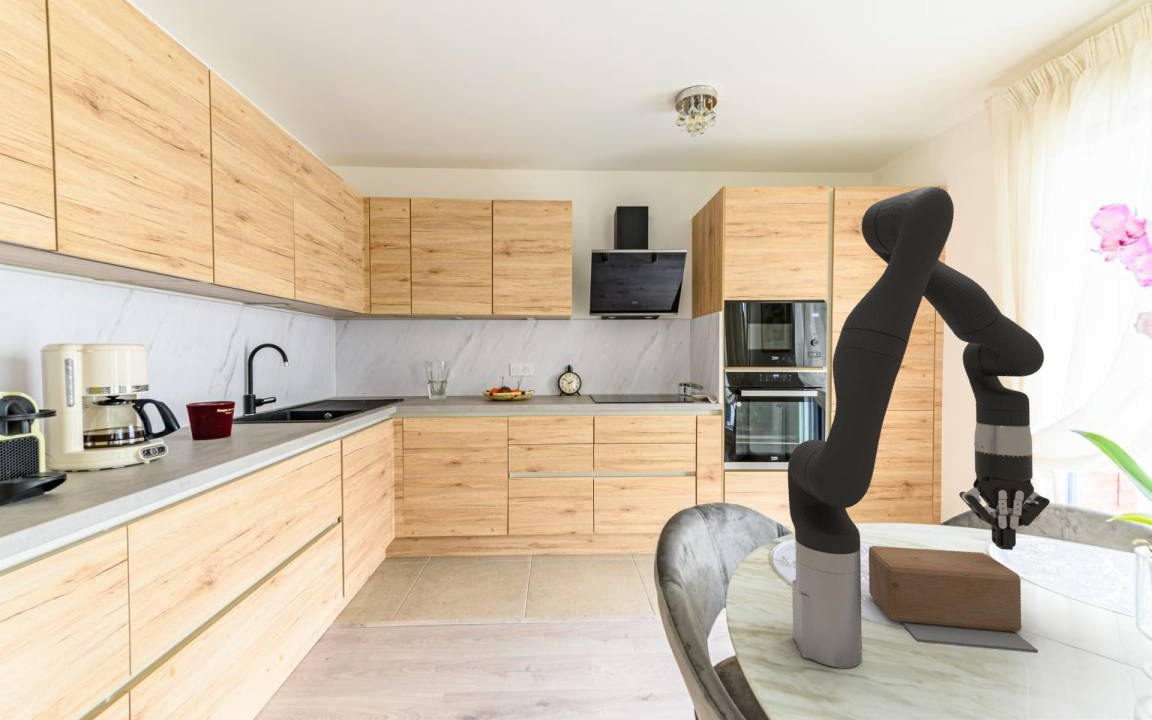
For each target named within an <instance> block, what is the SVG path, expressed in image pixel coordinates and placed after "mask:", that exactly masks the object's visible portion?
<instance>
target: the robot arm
mask: <svg viewBox="0 0 1152 720" xmlns="http://www.w3.org/2000/svg"><path fill="white" fill-rule="evenodd" d="M954 209H955V207H954V201H953V200H952V197H951V195H950V194H949V192H947V191H946V189H944V188H941V187H939V186H926V187H925V186H924V187H921V188H916V189H912V190H910V191H907V192H902V193H900V194H898V195H893V196H891V197H888V198H885V199H882V200H879V201H876V202H875V203H873V204H871V205H870V206H869V207H868V208H867V210H865V212H864V214H863V217H862V220H861V233H862V237H863V239H864V241H865V243H866V245H868V247H869V248H870V249H871V250H872V251H873V252H874V253H875V254H876V256H878V257H879V258H881V259H882V260H883V261H884V262H885V264H887V266H886V268H885V270H884V272H883V273H882V275H881V276H880V278H879V279H877V281H876V282H875V283H874V285H872V286H871V288H870V289H869V290H868V292H867V293H866V294H865V295H864V296H863V297H862V298H861V299H860V300H859V302H858V303H856V305H855V306H854V308H852V310H851V311H850V313H849V314H848V316H847V317H846V318H845V321H844V323H843V325H842V327H841V331H840V333H839V337H838V340H837V342H836V346H835V348H834V353H833V358H832V377H833V378H832V379H833V386H834V393H835V410H834V416H833V421H832V424H831V426H830V430H829V432H828V435H827V438H826V441H825V440H820V439H809V440H806V441H802V442H801V443H799V444H798V445H797V446H795V448H794V449H793V451H792V452H791V455H790V457H789V459H788V466H787V488H788V489H787V490H788V492H787V493H788V507H789V516H790V519H791V522H792V525H793V527H794V528H793V529H794V539H795V541H794V544H795V550H794V551H795V579H793V580H792V581H791V584H792V585H791V586H792V587H791V588H792V589H791V591H792V637H793V639H794V641H795V643H796V646H797V648H798V650H799V652H800V655H801V657H802V658H804V659H809V660H813V661H815V662H817V663H819V664H822V665H826V666H830V667H834V668H840V669H841V668H843V669H845V668H847V669H848V668H853V667H856V666H859V664H860V663H861V662H862V661H863V660H862V659H863V656H862V655H863V653H862V652H863V642H862V641H863V640H862V639H863V638H862V634H863V633H862V581H861V580H862V575H861V574H862V573H861V572H862V570H861V568H862V567H861V566H862V565H861V564H862V563H861V560H862V559H861V533H860V531H859V528H858V527H857V525H856V524H855V523H854V522H853V520H852V519H851V517H850V515H849V513H848V511H847V509H848V508H851V507H853V506H855V505H857V504H858V503H859V502H861V501H862V500H863V498H864V497H865V496H866V495H867V492H868V491H869V489H870V486H871V482H872V479H873V475H874V470H875V466H876V465H875V464H876V460H877V454H878V448H879V444H880V439H881V435H882V429H883V424H884V421H885V416H886V414H887V411H888V407H889V403H890V400H891V396H892V393H893V389H894V386H895V383H896V379H897V377H898V374H899V372H900V369H901V366H902V363H903V361H904V356H905V355H906V354H905V353H906V351H907V347H908V344H909V341H910V337H911V333H912V330H913V326H914V322H915V321H916V317H917V314H918V311H919V309H920V306H921V303H922V300H923V297H924V298H925V299H926V300H927V302H928V303H929V304H930V305H931V306H932V307H933V308H934V310H935V311H936V312H937V313H938V315H939V316H940V317H941V318H942V320H943V321H944V323H945V324H946V325H947V326H948V328H949V329H950V330H951V332H952V333H953V334H954V336H956V338H958V339H959V340H960V341H962V342H965V343H967V344H966V345H965V347H964V350H963V351H962V352H963V353H962V365H963V368H964V371H965V374H966V376H967V379H968V381H969V384H970V387H971V390H972V394H973V395H974V400H975V422H976V423H975V430H974V442H973V445H974V472H975V476H976V477H975V480H974V482H973V485H972V486H973V487H972V488H971V489H970V490H968V491H966V492H965V491H961V492H959V494H958V495H959V497H960V498H961V500H962V501H963V502H964V503H965V504H966V505H967V506H968V507H969V508H970V509H971V511H972V513H974V514H975V516H976V517H977V518H978V519H979V520H981V521H982V522H985V523H987V524H989V525H991V541H992V543H993V544H994V545H995V546H996V548H998V549H1001V550H1008V551H1012V550H1014V547H1016V545H1017V541H1016V540H1017V536H1016V535H1017V534H1016V533H1017V531H1016V530H1017V529H1018V528H1019V527H1023V526H1024V527H1028V526H1030V525H1031V524H1032V523H1033V522H1034V521H1035V520H1036V518H1038V516H1040V514H1041V513H1042V512H1043V511H1044V510H1045V509H1046V508H1047V506H1049V505H1050V502H1051V501H1050V499H1049V498H1046V497H1044V496H1042V495H1040V494H1038V492H1036V491H1035V487H1034V485H1033V484H1032V479H1033V478H1034V475H1033V474H1034V473H1033V471H1034V469H1033V437H1032V432H1031V423H1030V419H1031V418H1030V417H1031V415H1030V414H1031V413H1030V409H1031V408H1030V398H1029V396H1028V394H1026V393H1024V392H1023V391H1020V390H1015V389H1012V388H1011V389H1010V388H1007V387H1005V386H1004V385H1003V383H1002V382H1001V380H1000V378H999V377H1011V378H1012V377H1014V378H1015V377H1016V378H1017V377H1018V378H1019V377H1029V376H1031V375H1034V374H1036V373H1037V372H1038V371H1039V370H1040V369H1041V368H1042V367H1043V365H1044V362H1045V353H1044V350H1043V347H1042V345H1041V343H1040V342H1039V341H1038V340H1037V338H1036V337H1035V336H1033V335H1032V333H1030V332H1029V331H1027V330H1026V329H1025V328H1023V327H1022V326H1021V325H1019V324H1018V323H1016V322H1015V321H1013V320H1012V319H1010V318H1009V317H1007V316H1006V315H1004V314H1003V313H1002V312H1001V311H1000V309H999V308H998V306H997V305H996V303H995V302H994V301H993V299H992V298H991V297H990V295H989V294H988V292H987V291H986V290H985V289H984V288H983V287H982V286H981V285H980V284H978V283H977V282H976V281H974V279H972V278H970V277H969V276H968V275H965V274H963V273H962V272H960V271H958V270H956V269H954V268H953V267H951V266H949V265H947V264H946V263H944V262H942V261H941V260H939V259H940V257H941V254H942V252H943V250H944V248H945V245H946V243H947V241H948V238H949V236H950V233H951V230H952V226H953V222H954V213H955V211H954ZM981 498H982V499H981ZM982 500H983V501H984V502H985V505H986V506H985V507H984V505H983V504H982V503H981V502H982Z"/></svg>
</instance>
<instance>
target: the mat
mask: <svg viewBox="0 0 1152 720" xmlns="http://www.w3.org/2000/svg"><path fill="white" fill-rule="evenodd" d="M900 624H901V626H903V627H904V629H906V631H907V632H908V633H909V634H910V635H911V637H912V638H914V640H915V641H916V642H921V643H930V644H942V645H953V646H961V647H962V646H963V647H975V648H984V649H986V648H987V649H997V650H1005V651H1017V652H1028V653H1038V652H1039V649H1037V648H1036V647H1034V646H1033V645H1032V644H1031V643H1030V642H1029V641H1027V640H1026V639H1025V638H1023V637H1022V636H1021V635H1019V633H1018V632H1014V631H1003V630H992V629H981V628H970V627H959V626H948V625H937V624H926V623H915V622H904V621H900Z"/></svg>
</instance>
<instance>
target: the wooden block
mask: <svg viewBox="0 0 1152 720" xmlns="http://www.w3.org/2000/svg"><path fill="white" fill-rule="evenodd" d="M1021 583H1022V582H1021V578H1020V575H1019V573H1017V572H1015V571H1014V570H1012V569H1010V568H1009V567H1007V566H1005V565H1004V564H1002V563H1001V562H999V561H997V560H996V559H994V558H993V557H991V556H990V555H988V554H986V553H984V552H976V551H963V550H962V551H959V550H946V549H945V550H944V549H931V548H930V549H929V548H916V547H915V548H911V547H896V546H880V545H871V546H869V549H868V589H869V590H868V591H869V594H870V596H871V597H872V599H873V600H874V601H875V603H876V604H877V605H878V607H880V609H882V611H883V612H884V614H885V615H886V616H887V618H889V619H890V620H892V621H897V622H899V621H904V622H915V623H926V624H937V625H948V626H959V627H970V628H981V629H992V630H1003V631H1014V632H1016V633H1018V632H1021V629H1022V600H1021V599H1022V598H1021V597H1022V595H1021V594H1022V593H1021V589H1022V588H1021V587H1022V585H1021Z"/></svg>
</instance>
